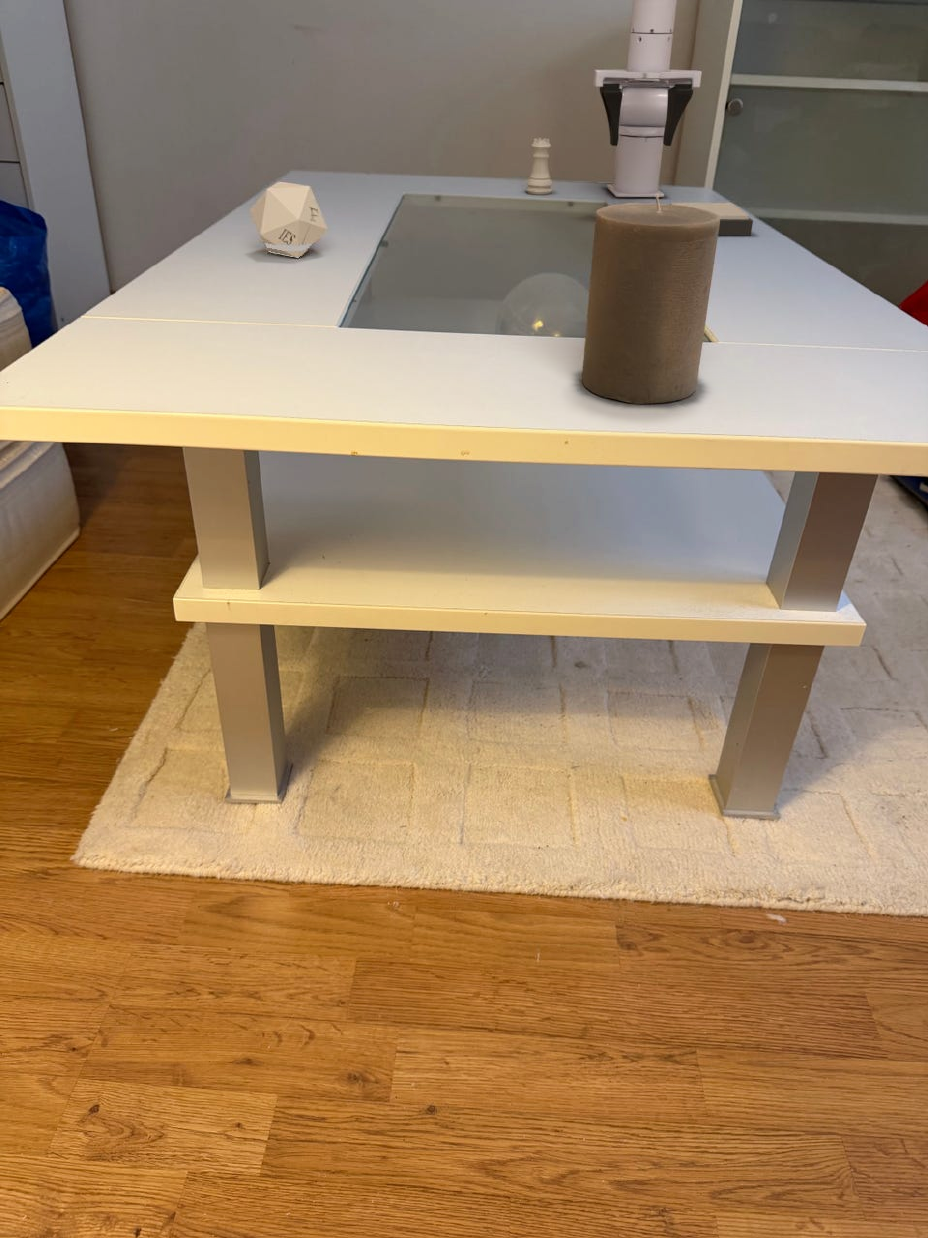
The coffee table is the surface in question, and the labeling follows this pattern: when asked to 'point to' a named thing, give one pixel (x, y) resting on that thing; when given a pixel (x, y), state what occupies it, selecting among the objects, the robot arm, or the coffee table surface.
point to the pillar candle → (648, 300)
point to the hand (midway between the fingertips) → (640, 144)
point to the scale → (727, 218)
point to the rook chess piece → (540, 169)
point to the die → (288, 217)
